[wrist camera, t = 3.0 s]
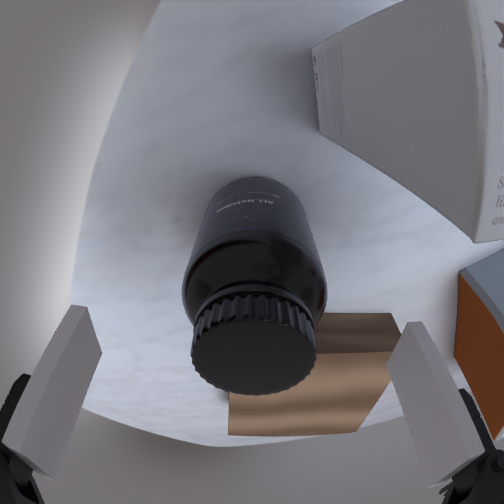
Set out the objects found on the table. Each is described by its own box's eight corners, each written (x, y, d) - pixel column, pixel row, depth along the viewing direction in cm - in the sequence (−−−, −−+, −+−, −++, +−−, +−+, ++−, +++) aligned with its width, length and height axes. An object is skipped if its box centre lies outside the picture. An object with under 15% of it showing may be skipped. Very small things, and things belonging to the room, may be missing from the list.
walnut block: (234, 305, 26) (231, 351, 21) (389, 310, 26) (408, 350, 22) (229, 397, 33) (227, 435, 29) (347, 397, 33) (355, 431, 29)
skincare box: (317, 134, 18) (451, 266, 6) (308, 41, 15) (450, -37, 2) (432, 132, 18) (606, 234, 5) (428, 49, 15) (622, 68, 2)
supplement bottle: (253, 153, 19) (256, 250, 9) (324, 222, 21) (380, 355, 11) (184, 224, 21) (133, 359, 11) (254, 280, 24) (256, 423, 14)
